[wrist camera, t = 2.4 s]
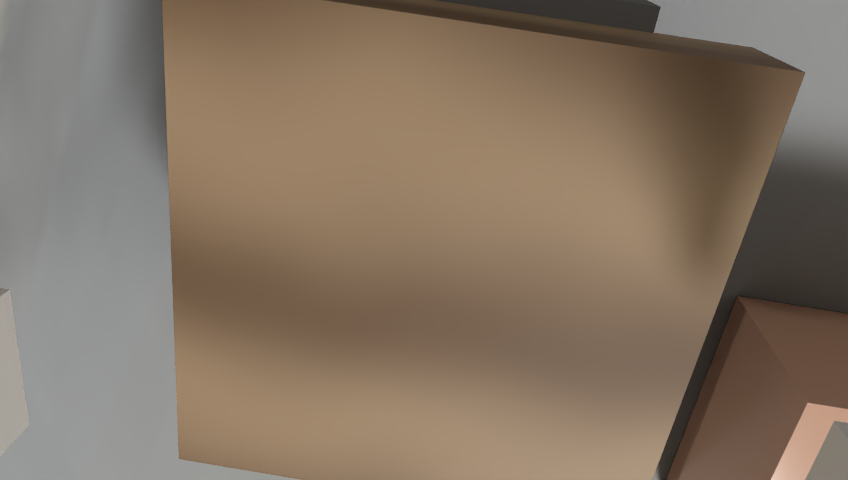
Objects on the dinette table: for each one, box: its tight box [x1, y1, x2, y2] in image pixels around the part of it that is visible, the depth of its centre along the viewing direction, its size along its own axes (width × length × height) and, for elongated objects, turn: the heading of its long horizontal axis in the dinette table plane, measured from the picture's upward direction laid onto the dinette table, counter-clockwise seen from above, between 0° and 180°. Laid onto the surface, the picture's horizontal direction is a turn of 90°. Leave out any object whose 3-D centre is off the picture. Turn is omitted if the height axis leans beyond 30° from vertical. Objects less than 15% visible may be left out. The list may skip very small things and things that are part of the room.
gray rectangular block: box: [437, 0, 660, 33], centre depth 18 cm, size 12×7×4 cm, turn 173°
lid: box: [162, 0, 805, 480], centre depth 15 cm, size 11×11×2 cm
